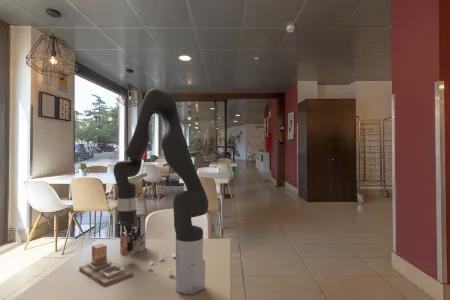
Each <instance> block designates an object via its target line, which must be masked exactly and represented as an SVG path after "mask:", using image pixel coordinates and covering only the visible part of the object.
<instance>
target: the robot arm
mask: <svg viewBox="0 0 450 300" xmlns="http://www.w3.org/2000/svg"><path fill="white" fill-rule="evenodd" d="M154 114H156V115H159V116H161V118H162V120H163V123H164V131H163V135H162V138H161V143H160V145H161V150H162V152H163V155H164V159H165V161H166V164H167V165H168V166H169V167H170V168H171V170H172V171H174V172H175V173H176V175H178V177H180V179H181V180H182V181H183V183H184V186H185V187H186V190H182V191H178V192H177V193H175V196H174V198H173V205H172V207H173V208H172V209H173V227H174V232H175V254H176V257H175V290H176V292H178V293H180V294H183V295H190V296H193V295H195V294H197V293H199V292H200V291H203V290H204V289H206V260H204V229H203V228H202V227H200V226H199V225H198V226H197V225H193V221H192V218H197V217H200V216H201V217H202V216H204V215H206V214H207V212H208V210H209V199H208V196H207V193H206V190H205V188H204V186H203V184H202V182H201V179H200V177H199V175H198V172H197V170H196V168H195V164H194V162H193V161H194V160H193V158H192V156H191V153H190V149H189V145H188V143H187V140H186V137H185V135H184V131H183V128H182V125H181V121H180V116H179V111H178V108H177V103H176V99H175V97H174V95H172V94H171V93H169V92H167V91H164V90H160V89H158V88H151V89H149V90H148V91H147V92H146V94H145V95H144V98H143V101H142V104H141V107H140V111H139V114H138V118H137V122H136V126H135V128H134V132H133V134H132V137H131V139H130V141H129V143H128V145H127V147H126V150H125V155H126V156H127V157H128V158H129V159H128V160H119V161H117V162H115V165H114V166H113V176H114V180H115V183H116V187H117V204H116V205H117V212H116V213H117V214H116V215H117V221H118V223H115V225H116V226H115V227H116V233H117V237H118V238H119V239H120V235H123V234H125V236H126V237H127V249H128V251H129V252H130V251H133V241H136V240H137V236H138V231H139V228H138V227H135V225H134V220H135V219H136V214H137V198H136V196H137V193H136V192H137V190H136V188H137V187H136V184H135V183H132V182H130V181H129V178H134V177H136V176H137V175H138V174H139V172H140V171H141V167H142V163H143V157H144V154H145V153H146V151H147V148H148V146H149V144H150V121H151V118H152V117H153V115H154ZM129 233H131V234H129ZM134 236H135V237H134ZM129 237H130V238H129Z"/></svg>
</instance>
